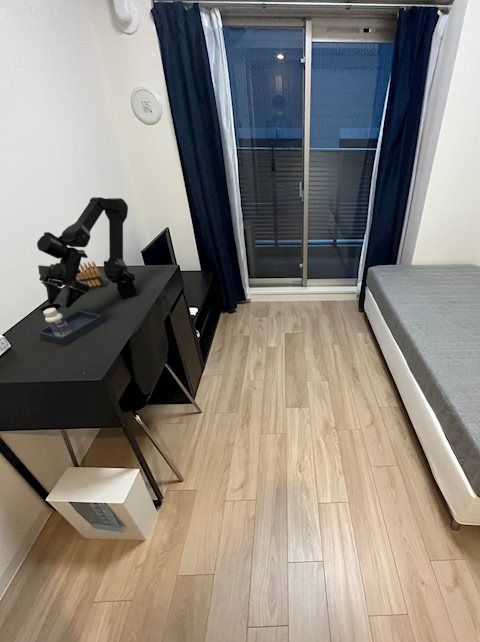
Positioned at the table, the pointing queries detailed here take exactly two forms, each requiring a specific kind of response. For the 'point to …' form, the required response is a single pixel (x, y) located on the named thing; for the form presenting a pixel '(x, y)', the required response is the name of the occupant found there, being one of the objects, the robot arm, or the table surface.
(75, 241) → the robot arm
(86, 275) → the ammunition clip
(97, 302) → the table surface
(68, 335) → the tray
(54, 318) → the pill bottle
